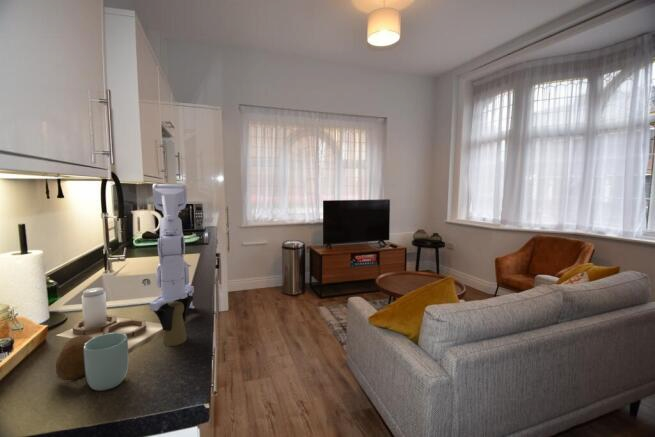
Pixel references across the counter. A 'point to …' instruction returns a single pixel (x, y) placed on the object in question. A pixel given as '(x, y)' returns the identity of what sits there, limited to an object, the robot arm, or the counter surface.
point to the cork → (176, 327)
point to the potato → (72, 359)
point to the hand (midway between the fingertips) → (174, 325)
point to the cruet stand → (119, 330)
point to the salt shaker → (94, 307)
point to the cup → (106, 360)
